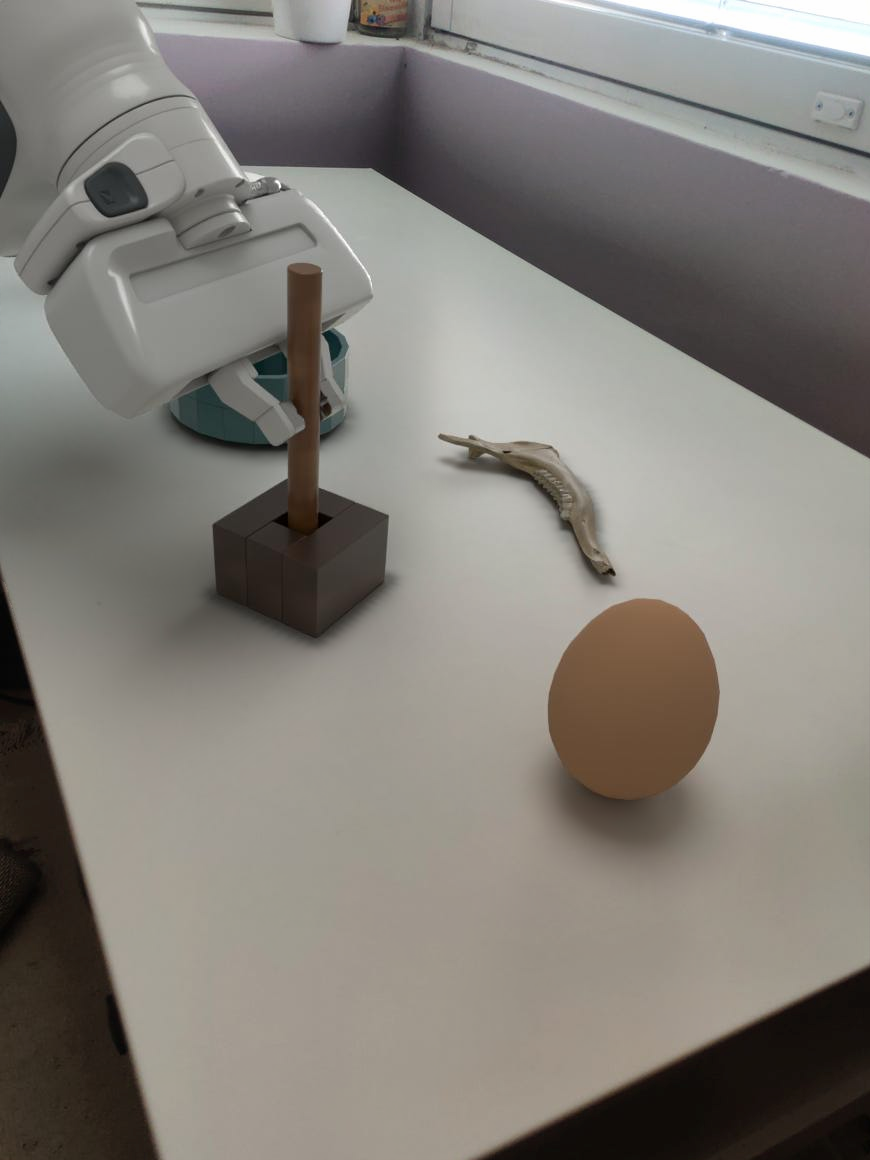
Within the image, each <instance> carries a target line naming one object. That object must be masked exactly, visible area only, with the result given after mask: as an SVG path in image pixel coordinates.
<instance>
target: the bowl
mask: <svg viewBox="0 0 870 1160" xmlns="http://www.w3.org/2000/svg"><path fill="white" fill-rule="evenodd" d="M321 334H322V335H323V337H324V338H325V340H326V341H327V343H328V346H329V352H330V358H331V365H332V371H333V376H332V377H333V379H334V380H335V382H336V383H337V385H338V386H339V388H340V389H341V391H342V393H343V394H344V396H345V397H346V401H347V403H346V406H345V407H344V408H342V409H341V410H340V411H338V412H337V413H336V414H334V415H332V416H331V417H329V418H327V419H325V420H323V421H321V422H320V436H321V435H324V434H326V433H329V432H331V431H332V430H333V429H334V428H336V427H337V426H338V425H339V424H341V423H342V422H343V421H344V419H345V416H346V413H347V410H348V393H349V371H350V370H349V368H350V345H349V343H348V340H347V338H346V336H345V335H344V334H343V333H341V332H340V331H338V329H336V327H334V328H332V329H330V330H328V331H325V332H323V333H321ZM252 365H253V367H254V368H255V370H256V371H257V373H258V376H257V377H256V378H255V379H254V381H255V382H256V383H257V384H259V385H260V386H261V387H262V388H264V389H265V390H266V391H267V392H268V393H270V394H271V395H272V396H273V397H275V398H276V399H277V400H278V401H280V403H281V402H283V401H286V400H287V358H286V356H285V355H284V353H283V352H282V351H281V352H279V353H276V354H274V355H272V356H270V357H268V358H265V359H263V360H261V361H259V362H256V363H254V364H252ZM168 403H169V411H170V412H171V413H172V414H173V416H174V417H175V418H176V419H177V420H178V422H180V424H182V425H184V426H186V427H187V428H190V429H191V430H193V431H195V432H197V433H198V434H202V435H204V436H208V437H211V438H215V439H218V440H222V441H226V442H234V443H240V444H249V445H250V444H251V445H272V444H271V443H270V442H269V441H268V439H267V438H266V436H265V435H264V433H263V432H262V431H261V429H260V428H259V426H258V425H257V423H256V422H255V421H252V420H250V419H249V418H247V417H245V416H244V415H242V414H241V413H239V412H237V411H236V410H234V409H233V408H231V407H230V406H228V405H226V404H225V403H223V402H222V401H221V400H220V398H219V397H218V395H217V394H216V392H215V391H214V389H213V388H212V386H211V385H210V384H208V385H205V386H203V387H201V388H199V389H196V390H194V391H192V392H190V393H188V394H185V395H183V396H181V397H179V398H176V399H174V400H172V401H170V402H168ZM283 444H284V445H285V444H288V440H287V441H286V442H284V443H282V445H283Z"/></svg>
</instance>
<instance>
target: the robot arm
mask: <svg viewBox="0 0 870 1160" xmlns="http://www.w3.org/2000/svg"><path fill="white" fill-rule="evenodd" d="M158 45H159V44H158V42H157V39H156V36H155V33H154V30H153V28H152V26H151V24H150V23H149V21H148V19H147V18H146V16H145V15H144V12H142V10H141V9H140V7H139V5H138V4H137V2H136V0H0V258H1V257H3V258H14V260H13V268H14V271H15V272H16V274H17V276H18V277H19V279H20V280H21V281H22V283H23V284H24V285H25V286H26V288H28V289H29V291H31V292H33V293H34V294H36V295H38V296H45V299H44V306H43V308H44V315H45V318H46V321H47V324H48V326H49V328H50V331H51V332H52V334H53V336H54V338H55V340H56V341H57V343H58V344H59V346H60V348H61V350H62V352H63V353H64V354H65V356H66V357H67V359H68V361H69V362H70V364H71V365H72V367H73V368H74V370H75V371H76V373H77V374H78V376H79V377H80V379H81V380H82V382H83V383H84V385H85V386H86V388H87V389H88V390H89V392H90V393H91V394H92V395H93V397H94V398H95V399H96V401H98V403H99V404H100V405H101V406H102V407H104V408H105V409H107V410H109V411H111V412H112V413H114V414H115V415H118V416H121V417H122V418H125V419H128V420H129V419H131V420H132V419H134V418H137V417H138V416H141V415H143V414H145V413H147V412H150V411H152V410H154V409H156V408H158V407H161V406H163V405H165V404H168V403H169V402H170V401H172V400H174V399H176V398H179V397H181V396H183V395H185V394H188V393H190V392H192V391H194V390H196V389H199V388H201V387H203V386H205V385H208V384H210V385H211V386H212V388H213V389H214V391H215V392H216V394H217V395H218V397H219V398H220V400H221V401H222V402H223V403H225V404H226V405H228V406H230V407H231V408H233V409H234V410H236V411H237V412H239V413H241V414H242V415H244V416H245V417H247V418H249V419H250V420H252V421H255V422H256V423H257V425H258V426H259V428H260V429H261V431H262V432H263V433H264V435H265V436H266V438H267V439H268V441H269V442H270V443H271V444H270V445H271V446H273V447H279V446H280V445H283V443H284V442H286V441H287V440H289V439H291V438H292V437H294V436H296V435H297V434H298V433H300V432H301V431H302V430H304V428H305V421H304V419H303V418H302V416H301V415H299V414H298V413H297V409H296V407H295V406H294V404H293V403H292V401H291V400H290V399H288V400H286V401H283V402H281V403H280V401H278V400H277V399H276V398H275V397H273V396H272V395H271V394H270V393H268V392H267V391H266V390H265V389H264V388H262V387H261V386H260V385H259V384H257V383H256V382H255V381H254V379H255V378H256V377H257V376H258V373H257V371H256V370H255V368H254V367H253V365H252V364H254V363H256V362H259V361H261V360H263V359H265V358H268V357H270V356H272V355H274V354H276V353H279V352H281V351H282V352H283V353H284V355H285V356H286V358H287V267H288V265H290V264H293V263H310V264H314V265H317V266H319V267H321V268H322V271H323V277H322V331H321V333H323V332H325V331H328V330H330V329H332V328H336V327H339V326H341V325H343V324H345V323H346V322H348V321H349V320H350V319H352V318H353V317H354V316H356V315H357V314H358V313H359V312H360V311H362V310H363V309H364V308H365V307H366V306H367V305H368V304H370V303H371V302H372V300H373V299H374V289H373V282H372V278H371V276H370V274H369V273H368V271H367V269H366V267H365V266H364V265H363V264H362V262H361V261H360V259H359V258H358V256H357V255H356V253H355V252H354V251H353V250H352V248H351V246H350V245H349V243H348V242H347V241H346V240H345V238H344V237H343V236H342V234H341V233H340V232H339V230H338V228H336V226H335V225H334V224H333V222H332V221H331V220H330V219H329V217H328V216H327V215H326V214H325V212H323V210H322V209H321V208H320V207H319V206H318V205H317V204H316V203H315V202H314V201H312V200H311V199H310V198H308V197H307V196H305V195H304V194H302V192H301V191H300V190H299V189H297V188H292V187H291V186H289V185H288V184H285V183H283V182H280V181H279V179H278V178H276V177H274V176H265V177H264V178H260V179H258V180H257V181H255V182H250V181H249V179H248V178H247V176H246V175H245V173H244V172H245V171H244V170H243V169H242V167H241V165H240V164H239V162H238V160H237V158H235V156H234V155H233V153H232V151H231V149H230V148H229V147H228V145H227V143H226V141H225V140H224V139H223V137H222V135H221V134H220V133H219V131H218V129H217V128H216V126H215V124H214V123H213V122H212V120H211V118H210V116H209V115H208V113H207V112H206V111H205V109H204V107H203V106H202V104H201V103H200V101H199V99H198V98H197V97H196V96H195V94H194V93H193V92H192V91H191V90H190V89H189V88H188V87H187V86H186V85H185V84H184V83H182V82H181V81H180V80H179V79H178V78H177V77H176V76H175V74H174V73H173V72H172V71H171V69H170V68H169V67H168V65H167V63H166V62H165V60H164V57H163V56H162V53H161V51H160V48H159V46H158ZM243 171H244V172H243ZM332 376H333V371H332V365H331V358H330V352H329V346H328V343H327V341H326V340H325V338H324V337H323V335H322V334H321V385H320V422H321V421H323V420H325V419H327V418H329V417H331V416H332V415H334V414H336V413H337V412H338V411H340V410H341V409H342V408H344V407H345V406H346V403H347V404H348V400H347V401H346V397H345V396H344V394H343V393H342V391H341V389H340V388H339V386H338V385H337V383H336V382H335V380H334V379H333V377H332Z"/></svg>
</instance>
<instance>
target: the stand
mask: <svg viewBox="0 0 870 1160" xmlns="http://www.w3.org/2000/svg"><path fill="white" fill-rule="evenodd" d="M389 520H390V515H389V514H388V513H385V512H382V511H379V510H377V509H375V508H372V507H370V506H367V505H364V504H362V503H359V502H358V501H357V502H356V501H354V500H352V499H349V498H347V497H345V496H342V495H340V494H336V493H335V492H332V491H330V490H327V489H324V488H321V487H319V493H318V529H317V530H316V531H314V532H313V533H312V534H310V535H309V536H306V535H304V534H301V533H299V532H296V531H294V530H292V529H289V528H288V477H287V478H285V479H284V480H282V481H280V482H279V483H277V484H275V485H273V486H272V487H271V488H269V489H268V490H266V491H264V492H262V493H261V494H259V495H257V496H255V497H254V498H253V499H250V500H249V501H248V502H246V503H244V504H242V505H241V506H239V507H238V508H236V509H235V510H233V511H231V512H229V513H228V514H226V515H225V516H223V517H222V518H220V519H217V521H215V522H213V523H212V525H211V527H212V545H213V558H214V559H213V560H214V561H213V562H214V578H215V592H216V594H219V595H220V596H223V597H226V598H228V599H230V600H232V601H234V602H237V603H239V604H241V605H243V606H245V607H248V608H250V609H252V610H255V611H257V612H259V613H261V614H263V615H266V616H268V617H270V618H271V619H274V620H277V621H278V622H281V623H283V624H285V625H287V626H289V627H291V628H293V629H296V630H298V631H301V632H303V633H305V634H307V635H309V636H311V637H314V638H318V637H319V636H320V635H321V634H322V633H323V632H325V631H326V630H327V629H328V628H330V627H331V626H332V625H333V624H334V623H335V622H336V621H338V620H339V619H340V618H341V617H342V616H344V615H345V614H346V613H347V612H348V611H350V610H351V609H352V608H354V607H355V606H356V605H357V604H358V603H359V602H361V601H362V600H364V598H365V597H367V596H368V595H369V594H370V593H371V592H372V591H373V590H375V589H376V588H378V587H379V586H380V585H381V584H383V582H385V578H386V576H385V575H386V566H387V565H386V564H387V550H388V537H389V536H388V535H389V523H390V521H389Z"/></svg>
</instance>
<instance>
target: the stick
mask: <svg viewBox="0 0 870 1160" xmlns="http://www.w3.org/2000/svg"><path fill="white" fill-rule="evenodd" d="M322 277H323V271H322V268H321V267H319V266H317V265H314V264H310V263H293V264H290V265H288V267H287V400H288V399H290V400H291V401H292V403H293V404H294V406H295V407H296V409H297V413H298V414H299V415H301V416H302V418H303V419H304V421H305V428H304V430H302V431H301V432H300V433H298V434H297V435H296V436H294V437H292V438H291V439H289V440H288V443H287V478H288V528H289V529H292V530H294V531H296V532H299V533H301V534H304V535H306V536H309V535H310V534H312V533H313V532H314V531H316V530H317V529H318V493H319V488H320V487H319V486H320V484H319V483H320V440H321V439H320V436H321V435H320V385H321V331H322Z"/></svg>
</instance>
